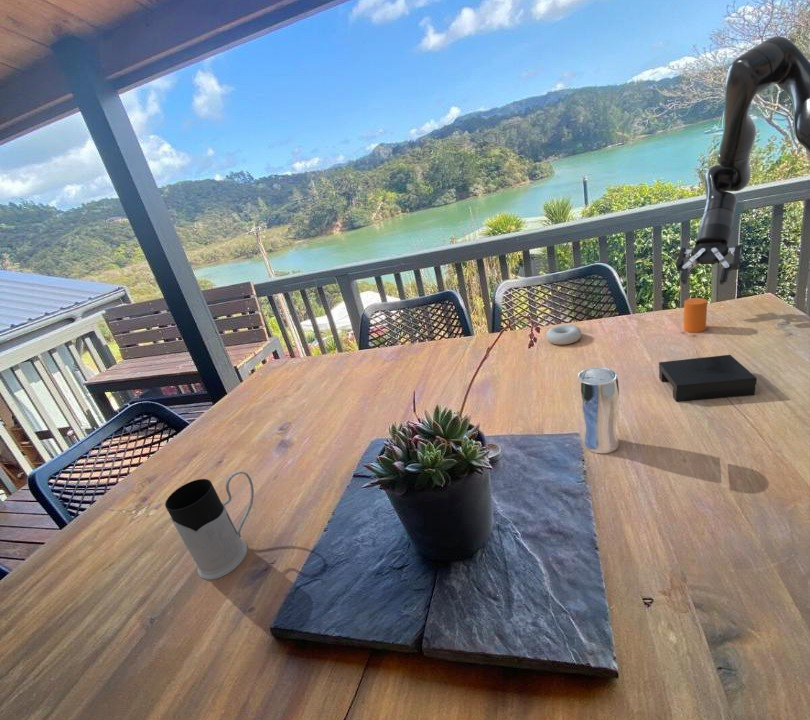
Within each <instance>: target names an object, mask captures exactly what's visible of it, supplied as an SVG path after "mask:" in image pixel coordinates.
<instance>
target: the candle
mask: <svg viewBox="0 0 810 720" xmlns="http://www.w3.org/2000/svg"><path fill="white" fill-rule="evenodd" d="M683 304H684V305H683V306H684V307H683V331H685V332H687V333H695V334H696V333H697V334H698V333H702V332H705V331H706V330H707V314H708V300H707V299H706V298H703V297H692V298H687V299H685V300H684V302H683Z"/></svg>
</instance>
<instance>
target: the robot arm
mask: <svg viewBox="0 0 810 720" xmlns="http://www.w3.org/2000/svg"><path fill="white" fill-rule="evenodd" d="M774 85H777V86H778V87H779V88H780V89H782V90H783V92H784V93H785V94H786V95H787V96H788V97H789V98H790V101H791V103H792V109H793V131H794V135H795V138H796V140H797V142H798V143H799V144H800V145H801V146H802V147H803V148H804V149H805V150H807V152H808V153H810V61H809V59H808V58H807V57H806V56H805V55H804V53H803V52H802V51H801V50H800V49H799V48H798V46H797V45H796V44H795V43H794V42H793V41H791V39H788V38H787V37H785V36H782V35H781V36H780V35H775V36H772V37H769V38H767V39H766V40H764V41H762V42H761V43H759V44H756V46H753V48H750V49H749V50H748V51H745V52H744V53H742V54H741V55H739V56H738V57H737V58H736V59H734V60H733V61H732V62H731V64H730V65H729V67H728V69H727V73H726V78H725V87H724V88H725V89H724V92H725V93H724V117H723V118H724V119H723V120H724V123H723V131H722V137H721V140H720V145H719V149H718V152H717V164H715V165H711V167H710V168H709V169H708V170H707V171H706V173H705V175H704V179H703V180H704V181H703V183H704V191H705V205H704V210H703V214H702V218H701V220H700V223H699V227H698V231H697V235H696V239H695V244H694V247H693V248H691V249H689V248H688V249H686V247H681V248H680V250H679V253H678V257H677V259H676V263H675V268H676V270H677V271H678V272H679V271H681V272H680V278H679V279H680V282H681V283H682V285H687V283H688V279H689V275H690V271H691V270H692V269H694V268H696V267H697V266H699V265H703V266H705V265H711V266H712V265H716V264H718V266H720V268H721V273H720V277H719V285H722V286H723V285H724V284H725V283H727V282H728V280H729V276H730V272H731V271H738V270H739V269H740V267H741V259H742V258H741V257H742V246H741V245H740V244H737V245H735V246H734V247H729V244H730V239H731V235H732V231H733V226H734V216H735V212H736V208H737V203H738V202H737V201H738V197H737V196H736V195H735V194H734V193H732V192H740V191H742V190H743V189H745V188H746V187H747V186H748V184H749V183H750V180H751V172H752V171H751V163H750V157H751V153H752V149H753V146H754V144H755V140H756V136H757V128H756V124H755V122H754V120H753V119H752V117H751V116H750V114H749V110H750V106H751V104H752V102H753V100H754V98H755V97H756V95H758V94H761V93H762V92H764V91H765V90H767V89H769V88H770V87H773V86H774ZM728 254H731V256H732V257H733V260H732V263H729V262H728V261H727V260H726V258H725V257H726V256H728ZM690 255H692V256H691V257H690V258H689V259H688V260H687V261H686V259H687V258H688V257H689V256H690ZM685 261H686V262H685Z"/></svg>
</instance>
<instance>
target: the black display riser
mask: <svg viewBox="0 0 810 720" xmlns="http://www.w3.org/2000/svg"><path fill="white" fill-rule="evenodd" d="M658 370H659V371H658V378H659V380H660V381H661V382H669V384H670V385H671V386H672V398H673V400H674V401H675V402H676V403H679V402H689V401H699V400H700V401H701V400H713V399H724V398H736V397H745V396H746V397H748V396H755V393H756V385H757V379H758V378H757V377H756V375H754V374H753V373H752V372H751V371H750V370H748V368H746V367H745V366H744V365H743V364H741V362H740V361H738V360H737V359H736V358H735V357H733V356H732V355H731V354H723V355H713V356H706V357H697V358H686V359H677V360H669V361H660V362H658Z"/></svg>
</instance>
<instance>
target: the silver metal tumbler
mask: <svg viewBox="0 0 810 720" xmlns="http://www.w3.org/2000/svg"><path fill="white" fill-rule="evenodd" d="M619 383H620V382H619V375H618V372H616V370H613V369H612V368H608V367H603V366H600V367H599V366H598V367H597V366H596V367H589V368H586V369H582V371H579V372H578V374H577V398H578V405H579V410H580V413H581V417H582V420H583V424H584V438H583V445H584V447H585V448H586V449H587V450H588V451H590V452H591V453H595V454H599V455H601V454H603V455H604V454H611V453H613V452H615V451H616V450H617V449H619V445H620V443H619V439H618V434H617V421H618V416H619V411H620V403H621V395H620V385H619Z"/></svg>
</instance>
